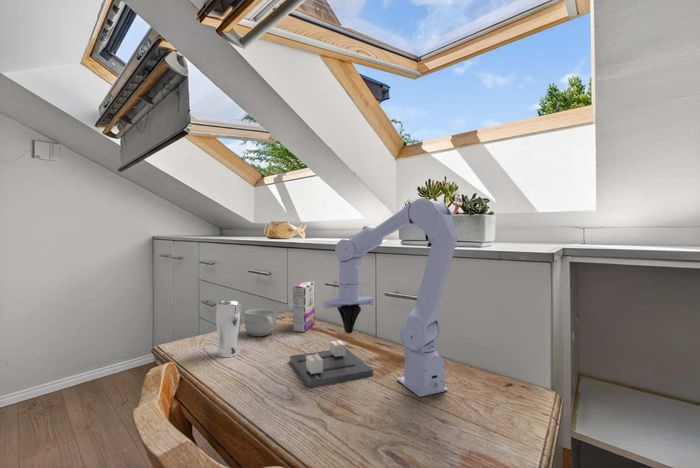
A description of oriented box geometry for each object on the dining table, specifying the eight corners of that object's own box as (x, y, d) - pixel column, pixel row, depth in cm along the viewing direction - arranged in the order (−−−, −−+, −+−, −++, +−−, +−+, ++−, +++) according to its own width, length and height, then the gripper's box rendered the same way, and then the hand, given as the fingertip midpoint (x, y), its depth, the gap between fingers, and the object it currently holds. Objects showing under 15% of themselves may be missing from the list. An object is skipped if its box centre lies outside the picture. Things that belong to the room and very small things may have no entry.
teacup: (242, 331, 120) (242, 309, 120) (273, 328, 125) (273, 306, 125) (248, 343, 107) (248, 318, 107) (281, 339, 112) (282, 315, 112)
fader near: (322, 372, 82) (322, 359, 82) (311, 374, 81) (311, 361, 81) (317, 365, 86) (317, 353, 85) (306, 367, 84) (306, 355, 84)
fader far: (345, 355, 93) (345, 344, 93) (335, 356, 92) (335, 345, 92) (339, 350, 97) (339, 339, 97) (330, 351, 96) (330, 340, 96)
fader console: (373, 375, 85) (373, 369, 85) (308, 387, 78) (308, 381, 78) (345, 352, 100) (345, 347, 100) (289, 361, 93) (289, 355, 93)
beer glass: (244, 350, 101) (245, 300, 101) (234, 358, 95) (235, 305, 94) (222, 349, 102) (223, 299, 102) (210, 357, 95) (211, 304, 95)
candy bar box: (302, 323, 131) (303, 281, 131) (314, 324, 130) (315, 282, 130) (291, 331, 120) (292, 286, 120) (305, 332, 119) (305, 286, 119)
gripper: (365, 279, 100) (364, 325, 100) (319, 282, 93) (318, 331, 94) (377, 283, 93) (376, 332, 93) (329, 286, 87) (328, 338, 87)
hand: (348, 332), depth 93 cm, fingers closed
